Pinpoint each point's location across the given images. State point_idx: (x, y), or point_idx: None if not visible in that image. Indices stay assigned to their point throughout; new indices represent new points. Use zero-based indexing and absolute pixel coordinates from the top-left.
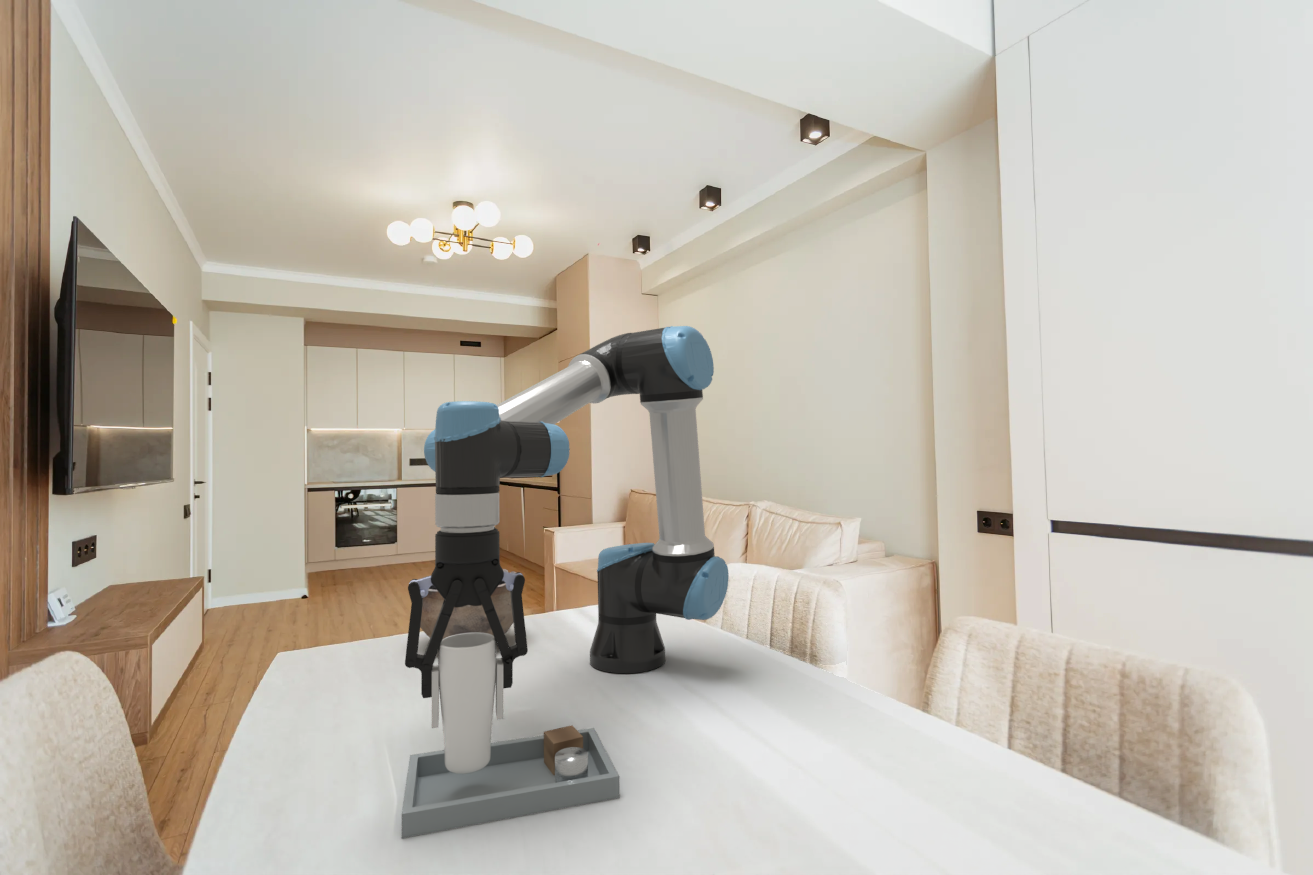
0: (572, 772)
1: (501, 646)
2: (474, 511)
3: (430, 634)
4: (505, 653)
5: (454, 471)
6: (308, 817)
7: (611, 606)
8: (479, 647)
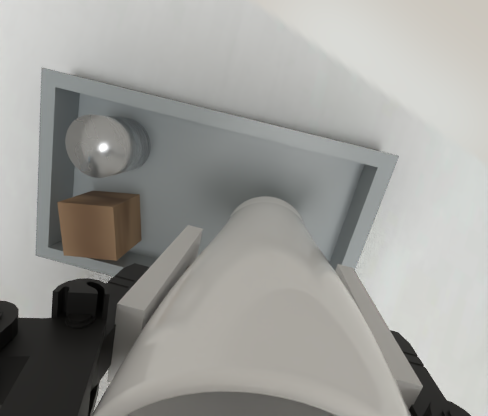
0: (111, 117)
1: (67, 376)
2: None
3: None
4: (75, 337)
5: None
6: (467, 290)
7: None
8: (213, 365)
